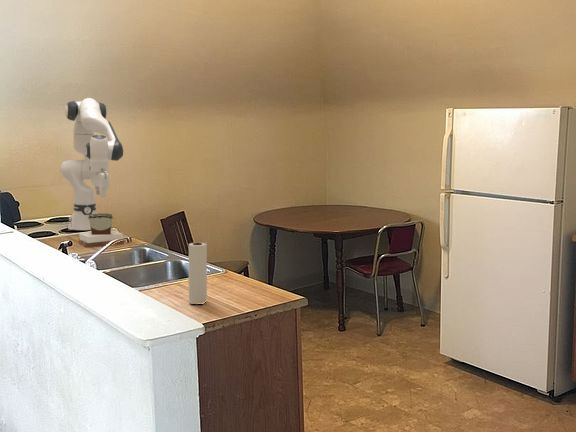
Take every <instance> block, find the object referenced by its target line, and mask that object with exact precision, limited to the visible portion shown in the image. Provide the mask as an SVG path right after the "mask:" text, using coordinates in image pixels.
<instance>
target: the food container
mask: <svg viewBox="0 0 576 432" xmlns="http://www.w3.org/2000/svg"><path fill="white" fill-rule="evenodd" d="M88 219H89V221H90V228H91V230H90V232H91V235H111V230H112V224H113V223H112V222H113V219H114V216H113V214H112V213H104V212H103V213H101V212H100V213H99V212H98V214H90V215H89V216H88Z"/></svg>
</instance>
